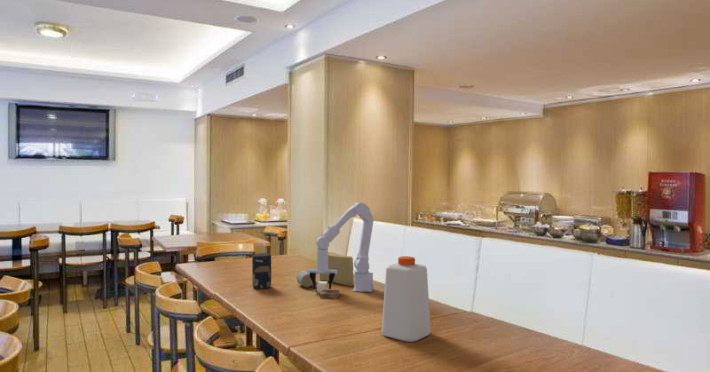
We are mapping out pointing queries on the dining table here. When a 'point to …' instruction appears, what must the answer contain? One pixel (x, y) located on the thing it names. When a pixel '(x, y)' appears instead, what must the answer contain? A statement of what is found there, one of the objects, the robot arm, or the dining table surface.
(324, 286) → the cream cube
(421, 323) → the plastic bottle
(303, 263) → the dining table surface
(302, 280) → the ceramic mug
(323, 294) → the walnut base
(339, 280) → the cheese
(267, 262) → the canister
